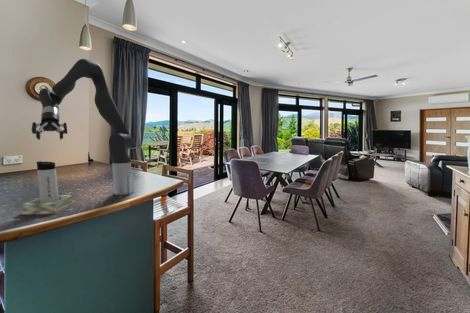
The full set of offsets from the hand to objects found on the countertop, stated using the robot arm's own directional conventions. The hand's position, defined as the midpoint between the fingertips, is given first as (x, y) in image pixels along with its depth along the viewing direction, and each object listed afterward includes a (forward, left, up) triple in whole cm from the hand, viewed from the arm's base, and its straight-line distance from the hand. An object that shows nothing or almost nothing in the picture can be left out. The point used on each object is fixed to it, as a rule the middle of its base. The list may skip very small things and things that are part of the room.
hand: (50, 138), depth 114 cm
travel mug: (-9, +17, -30) cm, 35 cm away
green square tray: (-9, +17, -31) cm, 36 cm away
